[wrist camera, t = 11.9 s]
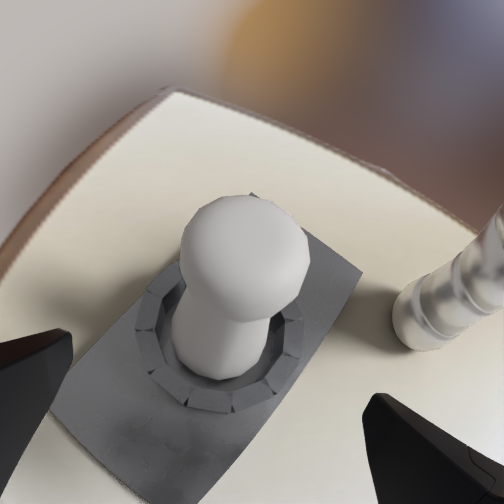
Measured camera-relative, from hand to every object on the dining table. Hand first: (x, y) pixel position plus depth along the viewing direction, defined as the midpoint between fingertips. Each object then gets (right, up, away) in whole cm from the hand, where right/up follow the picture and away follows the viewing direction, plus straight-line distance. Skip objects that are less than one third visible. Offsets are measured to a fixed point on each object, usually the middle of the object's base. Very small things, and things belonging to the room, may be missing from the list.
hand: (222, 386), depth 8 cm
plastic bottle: (+15, -3, +18) cm, 24 cm away
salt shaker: (-2, -2, +13) cm, 13 cm away
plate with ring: (-2, -3, +14) cm, 14 cm away
